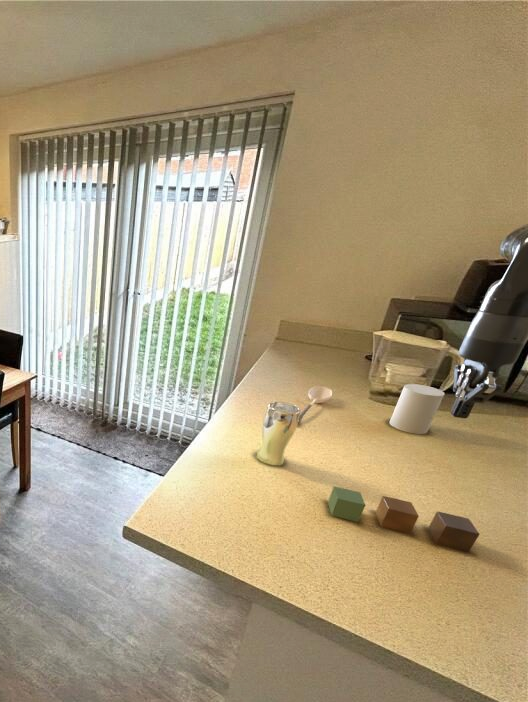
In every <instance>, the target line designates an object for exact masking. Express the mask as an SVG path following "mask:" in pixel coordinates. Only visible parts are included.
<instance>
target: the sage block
mask: <svg viewBox="0 0 528 702" xmlns="http://www.w3.org/2000/svg"><path fill="white" fill-rule="evenodd" d="M327 504H328V508H329V511H330V516H332V517H335V518H340V519H345V520H348V521H352V522H356V523H359V521H360V519H361V517H362V514H363V513H364V510H365V507H366V503H365V501H364V497H363V496H362V494H361V492H360V491H356V490H352V489H348V488H344V487H340V486H334V485H333V488H332V490H331V493H330V496H329V498H328V501H327Z"/></svg>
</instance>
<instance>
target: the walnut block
mask: <svg viewBox="0 0 528 702" xmlns="http://www.w3.org/2000/svg"><path fill="white" fill-rule="evenodd" d="M427 529H428V531H429V534H430V535H431V537H432V538H433V540H434V542H435V544H436V545H439V546H443V547H447V548H451V549H455V550H459V551H463V552H465V553H470V551H471V549H472V548H473V546H474V544H475V543H476V542H477V539H478V538H479V536H480V532H479V530H478V529H477V528H476V527H475V525H474V524H473V523H472V521H471V520H470V519H469V518H467V517H465V516H459V515H455V514H451V513H447V512H442V511H438V510H437V511H436V512H435V514H434V516H433V517H432V520H431V521H430V523H429V525H428V528H427Z"/></svg>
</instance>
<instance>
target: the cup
mask: <svg viewBox="0 0 528 702" xmlns="http://www.w3.org/2000/svg"><path fill="white" fill-rule="evenodd" d="M444 396H445V392H444V391H443V390H440V389H438V388H436V387H432V386H430V385H429V386H428V385H424V384H418V383H406V384H404V386H403V388H402V391H401V394H400V396H399V398H398V400H397V402H396V405H395V408H394V409H393V412H392V414H391V417H390V420H389V425H390V426H392V427H393V428H394V429H397V430H400V431H402V432H406V433H409V434H415V435H416V434H417V435H423V434H427V433H428V431H429V429H430V427H431V424H432V423H433V421H434V418H435V416H436V414H437V412H438V409H439V408H440V405H441V403H442V400H443V399H444Z"/></svg>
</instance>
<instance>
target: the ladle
mask: <svg viewBox="0 0 528 702" xmlns="http://www.w3.org/2000/svg"><path fill="white" fill-rule="evenodd" d="M332 396H333V391H332V389H330V388H329V387H326V386H324V385H323V386H321V385H318V386H317V385H316V386H313V387H311V388H309V390H308V398H309V400H310V401H311V402H310V403H309V404H307V405H306V406H305V408H304V409H303V410H302V411H301V412H300V415H299V420H298V424H297V426H299V425H300V423H301V421H302V419H303V417H304V416H305V415H306V413H307V412H308V411H309V410H310V408H312V406H313V405H314V404H315V403H316V404H323V403H326V402H327V401H329V400H330V399H331V398H332Z"/></svg>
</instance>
